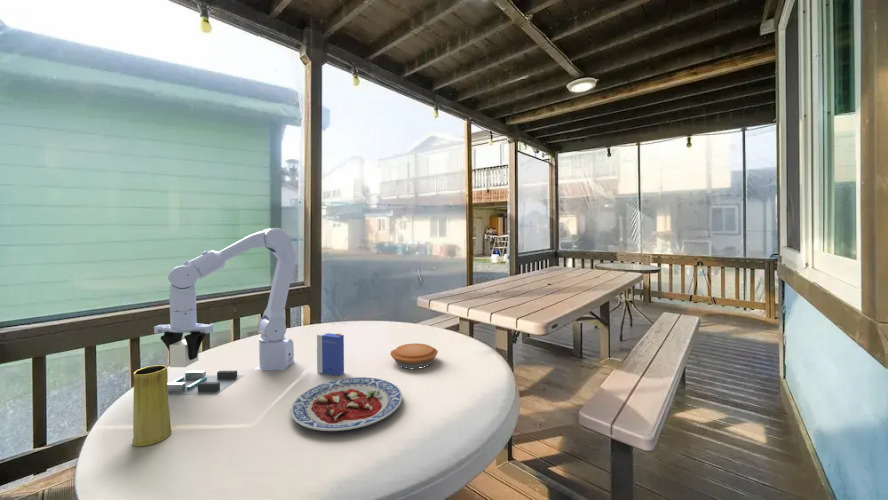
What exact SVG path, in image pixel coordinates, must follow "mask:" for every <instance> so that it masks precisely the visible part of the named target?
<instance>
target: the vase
mask: <svg viewBox="0 0 888 500" xmlns="http://www.w3.org/2000/svg"><path fill="white" fill-rule="evenodd" d="M132 374H133V375H132V376H133V405H132V406H133V415H132V417H133V419H132V431H133V435H132V443H131V444H132V446H134V447H139V448H140V447H148V446H151V445H155V444H157V443H161V442H162V441H165V440H166V439H167V438H168V437H170V436H171V434H172V424H171V414H170V403H169V395H168V383H169V382H168V381H169V379H168V376H169V375H168V374H169V372H168V366H167V365H163V364H158V365H150V366H145V367H142V368H140V369H136V370H134V372H133V373H132Z"/></svg>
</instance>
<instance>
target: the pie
mask: <svg viewBox="0 0 888 500" xmlns="http://www.w3.org/2000/svg"><path fill="white" fill-rule="evenodd" d="M438 353H439V351H438V350H437V349H436V348H435V347H434V346H431V345H429V344H426V343H415V342H414V343H407V344H402V345H400V346H398V347H395V348H394V349H393V350H391V351H390V353H389V354H390V357H392V359H394V362H395V363H396V365H397V366H398V365H399V367H400V366H402V367H407V368H419V367H424V366H427V365H429V364H430V365H431V364H432V363H433V361H434V360H435V358H436V357H437V355H438ZM431 362H432V363H431ZM430 365H429V366H430ZM402 367H401V368H402ZM427 367H428V366H427Z"/></svg>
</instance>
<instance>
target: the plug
mask: <svg viewBox="0 0 888 500" xmlns="http://www.w3.org/2000/svg"><path fill="white" fill-rule="evenodd" d="M198 361H199V354H198V355H197V358H195V359H193V360H189V356H188V346H187V342H186V340H185V338H183V339H182V340H181V341H179V342H176V343H174V344H171V345H170V352H169V367H170V368H186V367H189V366H190V365H193V364H195V363H197V362H198Z"/></svg>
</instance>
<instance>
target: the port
mask: <svg viewBox="0 0 888 500" xmlns="http://www.w3.org/2000/svg"><path fill="white" fill-rule="evenodd" d="M206 373H207V371H206V370H187V371H186V372H184V376H180V377H178V378H176V379H175V380H173V381H171V382H168V392H183V391H185V390H186V382H182V383H179V382H181V381H182V380H184V378H185V380H191V379H199V380H198V381H196V382H194V383H192V384H191V385H189V386H187V390H190V389H192V388H194V387H195V386H197V385H198V384H199V383H201V382H203V381H205V380H207V377H206V376H207V374H206Z"/></svg>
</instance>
